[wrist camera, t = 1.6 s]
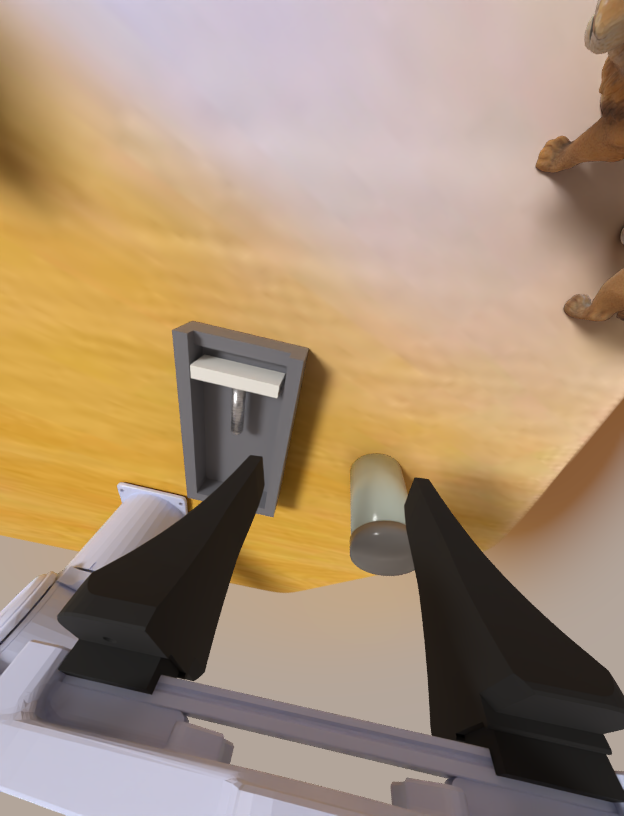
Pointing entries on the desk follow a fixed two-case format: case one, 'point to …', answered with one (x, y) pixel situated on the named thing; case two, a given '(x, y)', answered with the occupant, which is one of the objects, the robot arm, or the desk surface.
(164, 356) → the desk surface
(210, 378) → the pusher
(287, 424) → the pusher lane
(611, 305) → the lion figurine
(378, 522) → the jar
